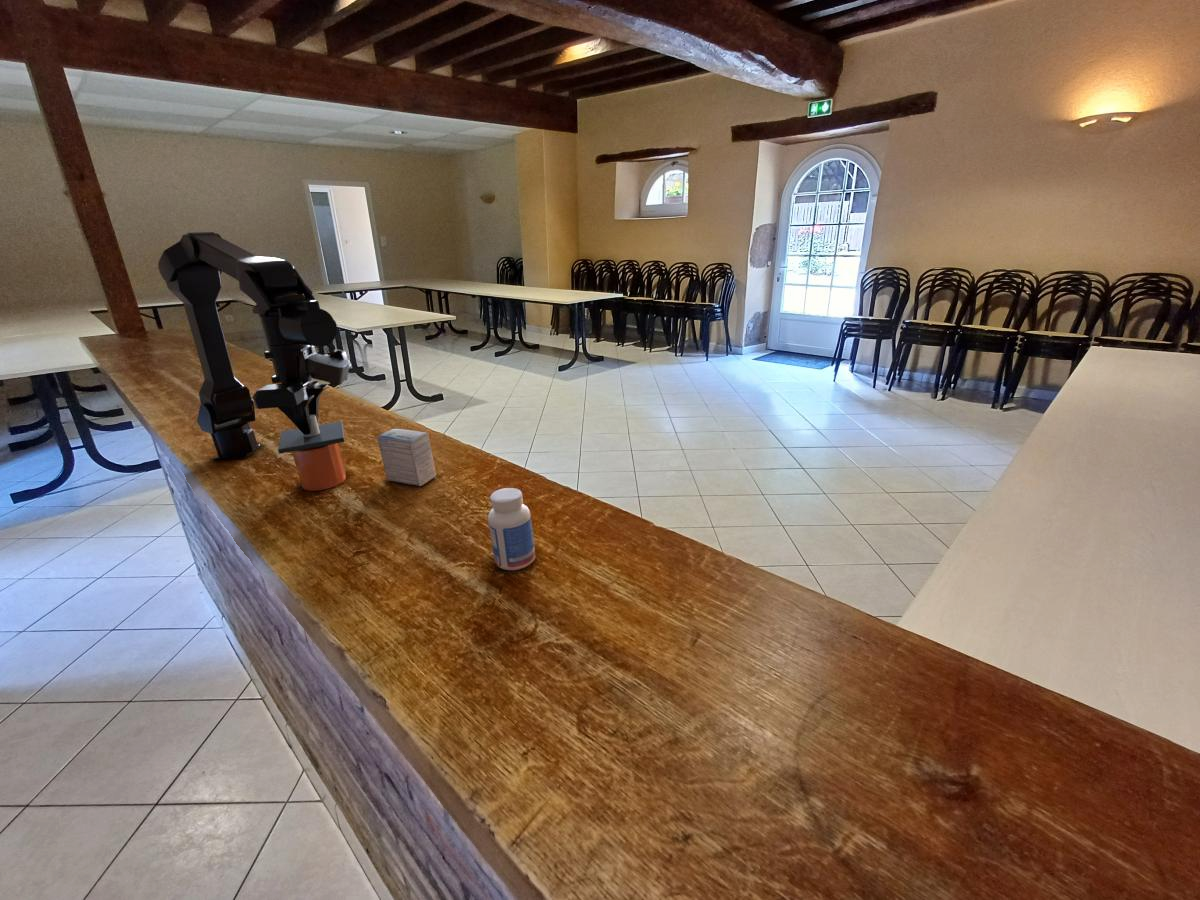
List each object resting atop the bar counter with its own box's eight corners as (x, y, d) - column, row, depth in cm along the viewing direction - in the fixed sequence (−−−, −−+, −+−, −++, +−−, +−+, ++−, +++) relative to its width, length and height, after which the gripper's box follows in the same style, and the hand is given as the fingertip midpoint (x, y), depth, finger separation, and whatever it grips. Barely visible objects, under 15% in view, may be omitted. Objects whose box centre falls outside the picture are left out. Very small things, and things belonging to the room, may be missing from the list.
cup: (295, 492, 96) (283, 453, 93) (311, 474, 103) (301, 437, 100) (338, 488, 97) (327, 449, 94) (351, 471, 103) (342, 434, 101)
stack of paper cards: (437, 477, 99) (429, 432, 96) (420, 487, 96) (411, 441, 92) (403, 471, 103) (394, 427, 99) (386, 481, 99) (376, 436, 95)
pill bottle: (542, 551, 75) (535, 487, 71) (524, 574, 70) (516, 507, 67) (506, 546, 77) (498, 483, 73) (487, 568, 72) (476, 502, 68)
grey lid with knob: (279, 454, 91) (272, 431, 89) (282, 435, 99) (276, 414, 97) (344, 441, 94) (339, 419, 93) (342, 424, 103) (337, 404, 101)
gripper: (315, 351, 82) (339, 447, 88) (355, 328, 99) (373, 410, 105) (238, 356, 81) (267, 453, 87) (291, 332, 98) (313, 415, 105)
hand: (310, 431), depth 96 cm, fingers closed on grey lid with knob, 2 cm apart
